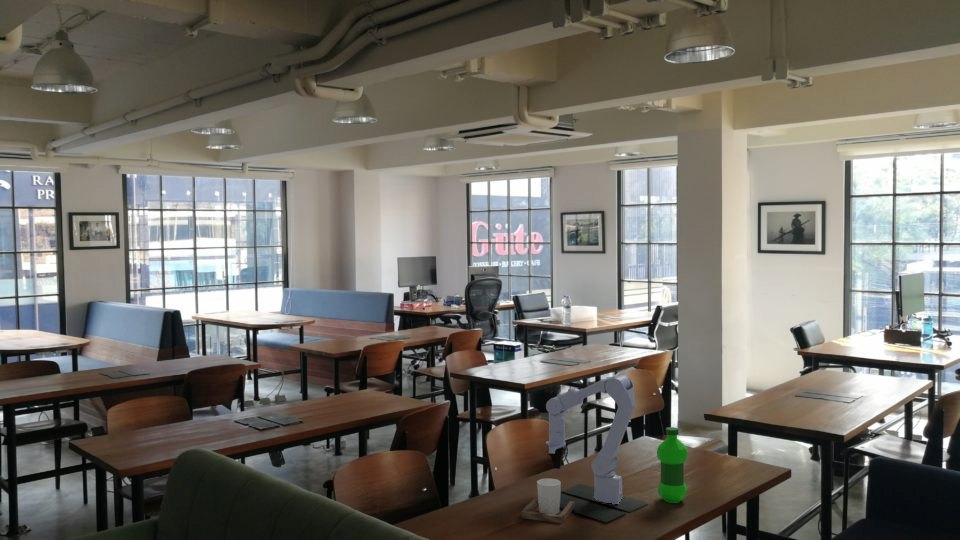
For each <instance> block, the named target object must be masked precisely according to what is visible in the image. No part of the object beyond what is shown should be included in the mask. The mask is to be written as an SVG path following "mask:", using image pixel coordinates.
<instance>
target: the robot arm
mask: <svg viewBox="0 0 960 540" xmlns="http://www.w3.org/2000/svg"><path fill="white" fill-rule="evenodd" d="M634 389H635V384H634V382H633V381H632V379H631V377H629V376H628V375H627V374H624V373H620V374H618V375H616V376H615V375H613V376H610V377H606V378H603V379H600V380H599V381H597V382H594V383H593V384H591V385H587V386H586V387H584V388H581V389H579V388H576V387H575V388H573V387H571V388H568V389H567V391H565V392H563V393H562V394H561V393H558V394H556V395H557V396H555V397H552V398H550V399H549V400H547V402H546V403H545V408H546V409H545V410H546V411H547V413H548V441H545V445H548V448H547V452H548V454H549V456H550V458H551V461H552V466H553V469H555V470H557V469H558V470H560V469H561V466H562V461H563V458H564V454H565V452H566V449H567V447H566V444H567V443H566V415H565V413H566V411H567V410H570V409H572V408H575V407H576V406H579V405H581V404H582V403H583V401H584V399H585V398H589V397H590V396H593V395H595V394H598V393H600V392H601V393H602V394H605V395H606V394H608V395H609V396H610V397H611V399H612V400H614V402H615V403H616V406H617V410H616V412H615V415H614V417H613V420H612V422H611V425H610V428H609V431H608V434H607V435H606V438H605V441H604V443H603V446H602V447H601V449H600V451H599V452H598V453H597V456H596V457H595V459H593V460H592V462H591V465H590V466H591V471H592V472H593V479H594V480H593V485H594V487H593V488H594V489H593V490H594V491H593V493H594V494H593V495H594V496H593V497H594V498H595V499H596V500H599V501H603V502H606V503H612V504H611V505H615V504H618V505H620V503H621V502H622V500H623V498H622V497H623V477H622V476H621V475H618V474H616V468H617V467H618V464H619V461H618V457H619V449H620V446H621V443H622V441H623V438H624V436H625V434H626V433H625V432H627V428H628V425H629V423H630V420H631V417H632V415H633V414H634V413H633V412H634V411H635V408H636V399H635V393H634V392H635V391H634ZM621 499H622V500H621ZM619 502H620V503H619ZM606 503H605V504H606Z"/></svg>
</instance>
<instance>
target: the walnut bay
mask: <svg viewBox="0 0 960 540" xmlns="http://www.w3.org/2000/svg"><path fill="white" fill-rule="evenodd" d="M575 502H576V501H575V500H574V501H572V500H570V501H569V502H568V503H567V505H566V506H564V508H563V510H562V511H561V512H559V514H547V513H540V512H539V511H538V512H537V511H534V510H535V508H536V507H537V506H539V503H538V496H534V497H533V499H531V500H530V501H529V503H527V504H526V506H525V507H523V509H522V511H521V519H527V520H533V521H541V522H548V523H557V524H562V523H564V522H565V520H566V519H567V518H568V517H569V516H570V514H571V513H572V512H573V510H572V508H573V507H574V506H576V505H575Z"/></svg>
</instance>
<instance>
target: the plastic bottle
mask: <svg viewBox="0 0 960 540" xmlns="http://www.w3.org/2000/svg"><path fill="white" fill-rule="evenodd" d="M679 431H680V430H679V427H672V426H668V427H666V428H665V435H667V438H666V439H664V440H663V441H662V442H661V443H659V444H658V447H657V448H656V449H657V450H656V456H657V457H656V458H657V459H658V460H659V461H660V482H659V484H658V487H657V492H658V495H659V496H660V497H661V499H663V500H664V502H667V503H670V504H679V503H680V502H682V500H683V499H684V498H685V497H686V496H687V489H688V488H687V485H686V483H685V462H687V460H688V455H689V453H688V452H689V451H688V448H687V446H686V445H685V444H684V443H683V442H682V441H681V440H680V439H678V435H679Z"/></svg>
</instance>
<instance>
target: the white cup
mask: <svg viewBox="0 0 960 540" xmlns="http://www.w3.org/2000/svg"><path fill="white" fill-rule="evenodd" d="M561 483H562V482H561V481H560V480H559V479H556V478H541V479H538V480H537V481H536V489H537V497H538V503H539V504H538V512H539V513H547V514H555V515H558V514H560V504H561V486H562V484H561Z"/></svg>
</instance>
